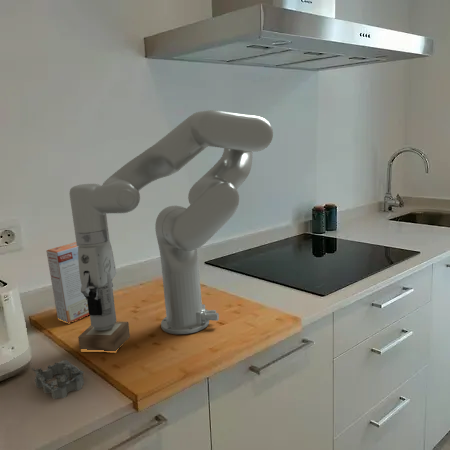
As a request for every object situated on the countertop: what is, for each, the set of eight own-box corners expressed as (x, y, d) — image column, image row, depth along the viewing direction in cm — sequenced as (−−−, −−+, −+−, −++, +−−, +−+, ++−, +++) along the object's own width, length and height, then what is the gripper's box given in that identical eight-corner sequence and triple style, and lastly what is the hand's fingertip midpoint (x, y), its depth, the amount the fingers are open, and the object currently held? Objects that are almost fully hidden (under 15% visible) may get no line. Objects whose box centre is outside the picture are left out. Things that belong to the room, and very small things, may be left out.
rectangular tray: (130, 336, 120) (128, 321, 120) (115, 353, 112) (113, 337, 111) (97, 335, 122) (95, 320, 121) (80, 352, 114) (78, 336, 113)
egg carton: (32, 385, 101) (29, 367, 100) (65, 370, 106) (62, 354, 105) (54, 403, 93) (51, 385, 92) (89, 387, 98) (86, 369, 98)
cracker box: (97, 304, 144) (88, 237, 140) (109, 308, 140) (101, 239, 136) (56, 320, 134) (45, 249, 129) (68, 325, 130) (57, 251, 126)
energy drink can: (119, 320, 119) (112, 262, 116) (113, 330, 113) (105, 270, 110) (95, 321, 119) (87, 264, 116) (88, 332, 113) (79, 272, 110)
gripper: (90, 246, 102) (101, 324, 106) (121, 228, 119) (130, 296, 123) (58, 247, 104) (70, 324, 108) (94, 228, 120) (102, 296, 124)
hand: (102, 308), depth 115 cm, fingers closed on energy drink can, 6 cm apart
